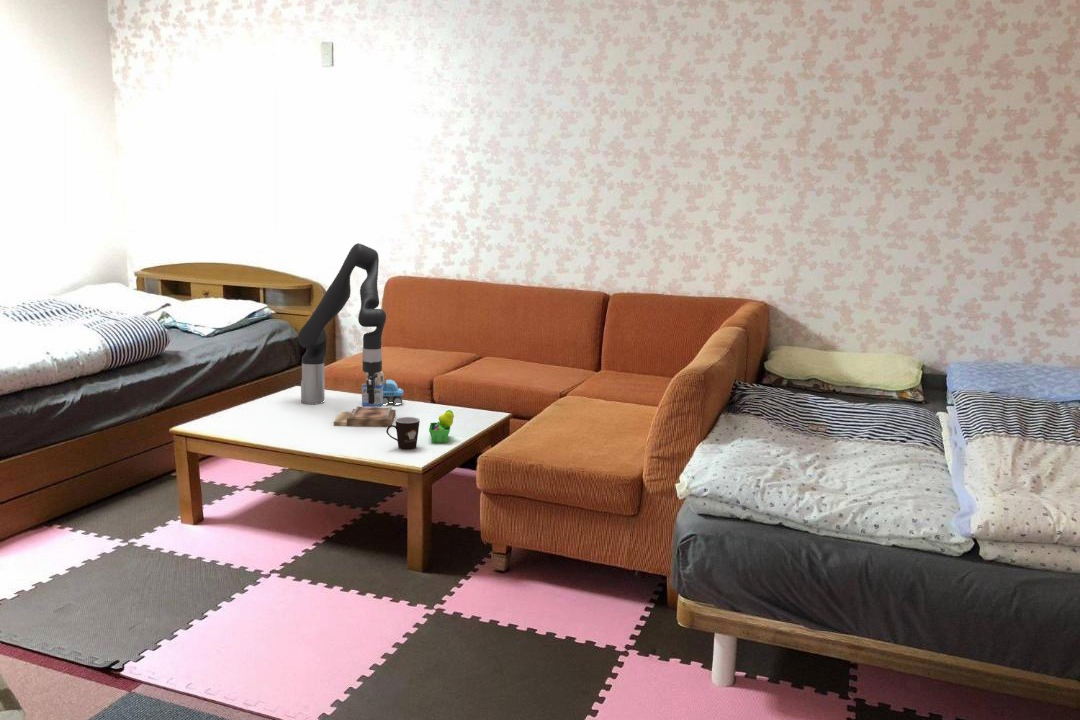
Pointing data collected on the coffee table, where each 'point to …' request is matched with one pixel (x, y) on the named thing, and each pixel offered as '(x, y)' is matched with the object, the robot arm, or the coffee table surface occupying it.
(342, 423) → the tan shallow tray
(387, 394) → the toy excavator
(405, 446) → the coffee mug
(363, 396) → the medicine box
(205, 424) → the coffee table surface
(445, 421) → the fruit basket
